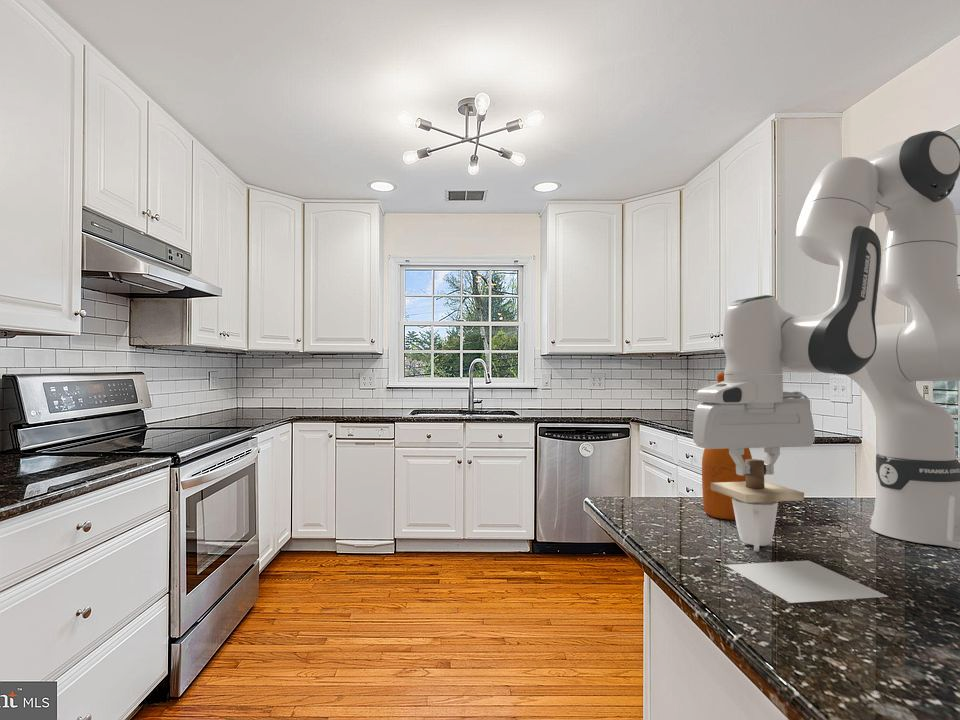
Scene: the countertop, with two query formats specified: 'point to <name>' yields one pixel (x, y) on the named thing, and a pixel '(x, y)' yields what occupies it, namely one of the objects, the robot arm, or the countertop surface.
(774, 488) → the lid
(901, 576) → the countertop surface
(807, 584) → the mat
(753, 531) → the cup
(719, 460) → the wine bottle
